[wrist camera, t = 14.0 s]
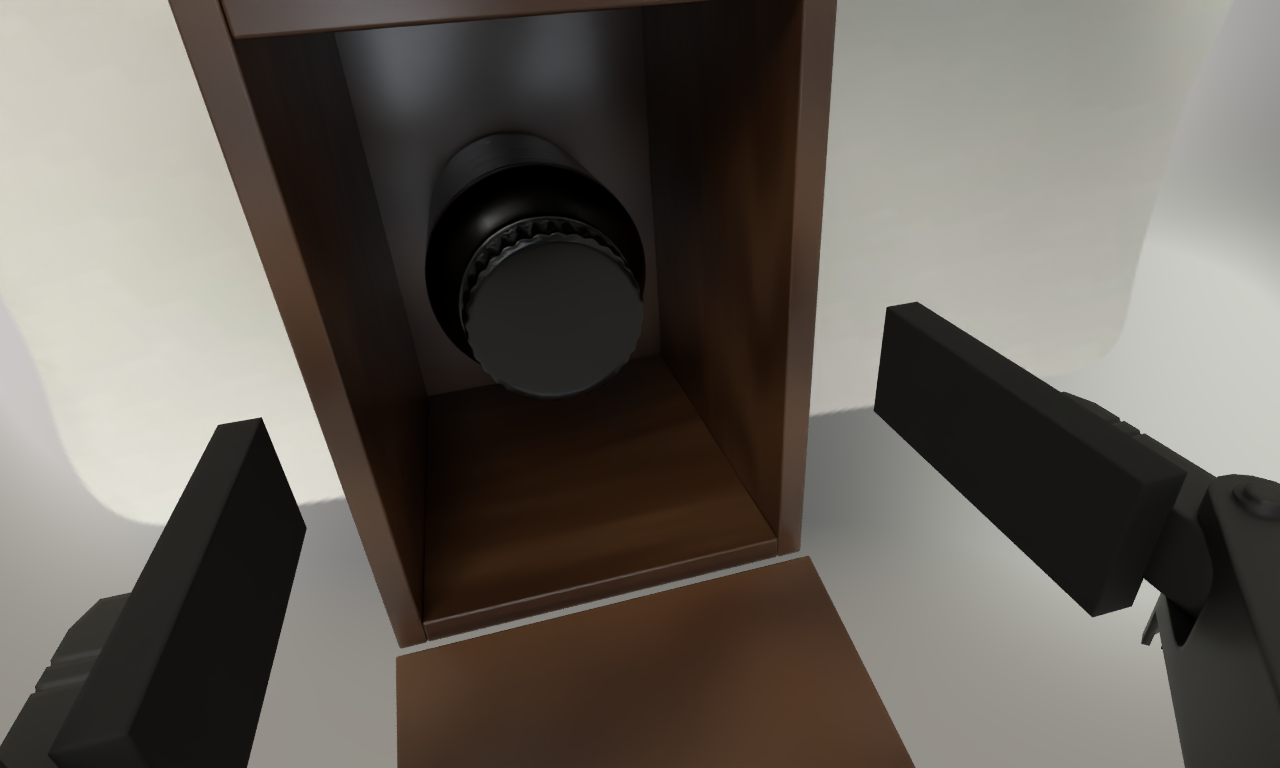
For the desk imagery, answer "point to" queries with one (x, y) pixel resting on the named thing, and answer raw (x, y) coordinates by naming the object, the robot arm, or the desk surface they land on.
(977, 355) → the robot arm
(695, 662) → the box lid
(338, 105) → the storage box
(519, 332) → the supplement bottle
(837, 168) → the desk surface
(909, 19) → the desk surface
